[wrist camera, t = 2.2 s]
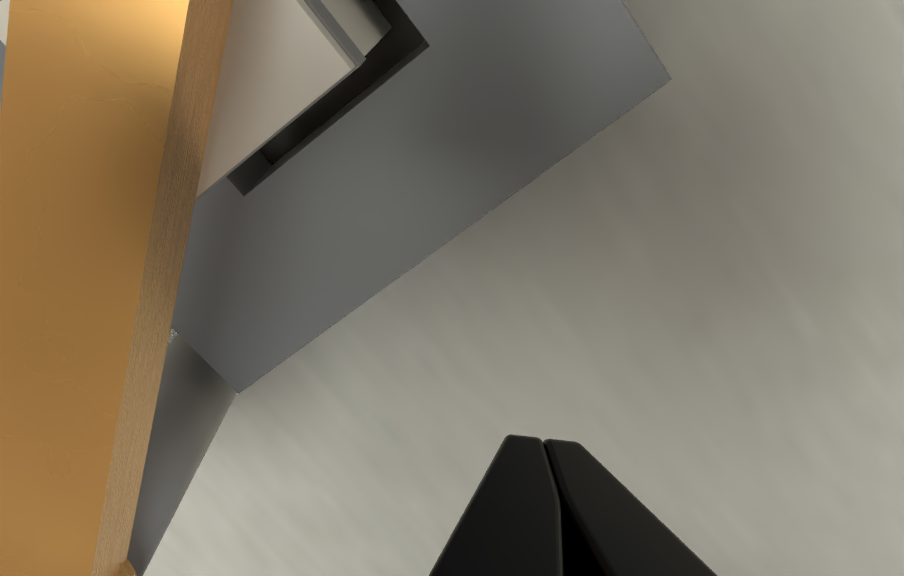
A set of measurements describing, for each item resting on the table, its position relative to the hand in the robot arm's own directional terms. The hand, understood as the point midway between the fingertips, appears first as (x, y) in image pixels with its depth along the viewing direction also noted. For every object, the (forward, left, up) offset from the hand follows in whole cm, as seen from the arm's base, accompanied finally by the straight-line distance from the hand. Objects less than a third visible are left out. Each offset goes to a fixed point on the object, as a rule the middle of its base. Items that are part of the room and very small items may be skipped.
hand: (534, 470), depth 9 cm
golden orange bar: (+4, +5, -4) cm, 8 cm away
